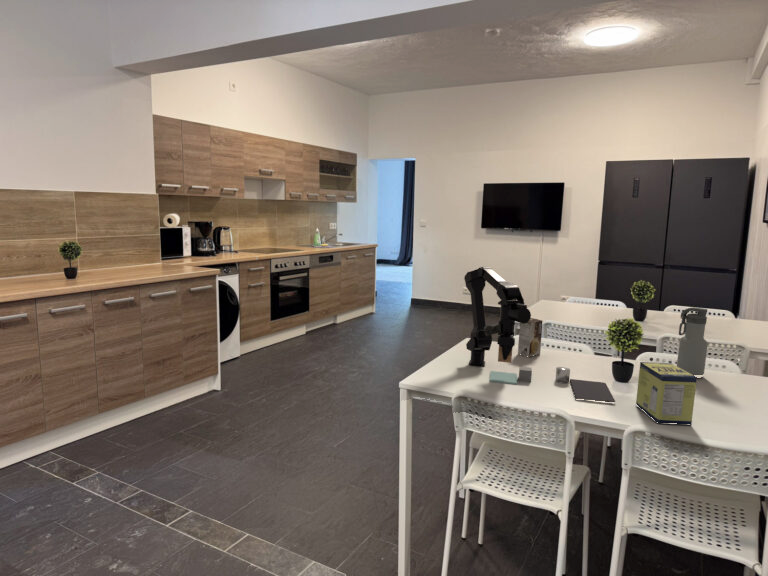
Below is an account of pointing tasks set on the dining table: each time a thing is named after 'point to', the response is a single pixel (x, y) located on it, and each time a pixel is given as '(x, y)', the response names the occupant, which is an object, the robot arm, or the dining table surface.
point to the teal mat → (503, 377)
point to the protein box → (666, 392)
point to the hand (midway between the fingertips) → (504, 357)
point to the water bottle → (693, 342)
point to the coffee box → (530, 337)
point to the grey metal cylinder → (562, 374)
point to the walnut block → (500, 356)
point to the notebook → (591, 390)
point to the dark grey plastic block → (525, 374)
